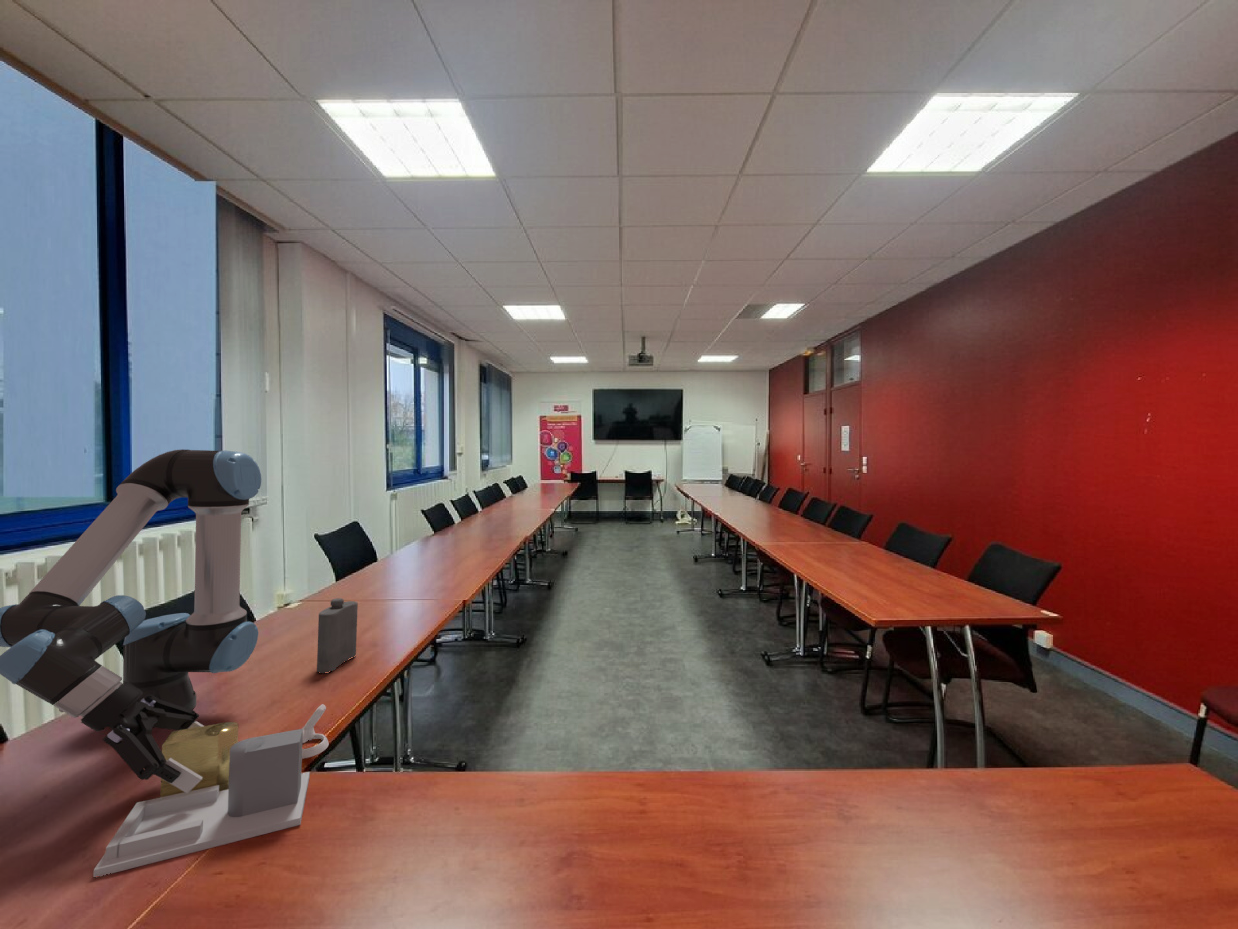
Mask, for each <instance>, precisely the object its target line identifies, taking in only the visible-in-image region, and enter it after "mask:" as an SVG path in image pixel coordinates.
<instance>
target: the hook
mask: <svg viewBox="0 0 1238 929" xmlns="http://www.w3.org/2000/svg"><path fill="white" fill-rule="evenodd" d="M326 710H327V705H325V704H324V703H322V704H320V705H319V706H318V707H317V708H316V710H315V711H314V712H313V713H312V714H311V716H310V718H309V719H308V720H307V722H306V723H305V725H303V727H302V728H301V729H303V741H302V744H304V743H306V742H308V740H309V741H313V740H312V739H321V742H320V743H318V744H316V745H313V746H310V747H307V748H302V760H304V759H309V758H311V757H314V756H317V755H319V754H321V753H322V752H324V751H326V749H327V748H328V747H329V745H330V744H329V739H328V738H327V736H326V735H325V734H323V733H316V732H315V728H314V727H315V726H316V724H317V723H318V721H319V720H320V719H321V717H322V716H323V714H324V713H325V712H326Z"/></svg>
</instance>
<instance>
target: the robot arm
mask: <svg viewBox="0 0 1238 929" xmlns="http://www.w3.org/2000/svg"><path fill="white" fill-rule="evenodd" d="M261 486H262V474H261V470H260V467H259V466H258V463H257V462H256V461H255V460H254V458H253V457H252V456H250V455H249V454H247V453H245V452H241V451H231V450H203V449H201V450H199V449H196V450H195V449H183V448H182V449H174V450H170V451H166V452H164V453H161V454H159V455H156V456H155V457H152V458H151V459H149V460H148V461H146V462H144V463H143V464H141V465H140V466H139V467H137V468H136V469H134V470H133V471H132V472H131V473H130V474H129V475H128V476H127V477H125V479H124V480H122V482H120V484H118V486H117V487H116V489H115V492H116V496H115V497H114V498H113V500H112V501H111V502H109V503H108V505H107V506H106V507H105V508H104V510H102V512H100V514H99V515H98V516H97V517H96V518H95V519H94V521H93V522H92V523H91V524H90V525H89V526H88V527H87V529H86V530H84V532H83V533H82V534H81V535H80V536H79V537H78V538H77V539H76V541H75V542H73V544H72V545H71V546H70V547H69V548H68V549H67V550H66V552H65V553H64V554H63V555H62V556H61V557H60V558H59V559H58V561H57V562H56V563H55V564H54V565H53V566H52V567H51V568H50V570H48V572H47V573H45V575H44V576H43V578H41V580H40V581H38V582H37V584H36V585H35V586H34V587H33V588H32V589H31V591H29V593H28V594H27V595H26V596H25V597H24V598H23V599H22V600H21V602H20V603H18V604H16V603H15V604H11V605H5V606H2V607H0V647H1V648H8V649H7V650H6V651H4V652H2V654H0V675H1V676H2V677H4V678H5V679H6V680H8V681H9V682H10V683H11V684H12V685H17V686H18V687H20V688H22V689H23V690H26V691H27V692H28V693H31V694H33V695H34V696H36V697H38V698H39V699H41V700H43V701H44V702H46V703H49V704H50V705H51V706H54V707H56V708H57V709H58V711H59V712H60V713H65V714H67V715H69V716H70V717H72V718H74V719H76V718H78V717H82V718H81V719H80V721H81V722H80V723H81V724H82V725H85V726H86V727H88V728H90V729H92V730H93V731H95V732H101V731H103V730H104V729H106V728H110V730H111V731H110V732H109V733H108V734H107V735H105V737H103V738H102V741H103V742H104V743H106V744H107V745H108V746H109V747H111V748H113V750H114V751H115V752H116V753H117V754H118V755H119V757H120V758H121V759H122V760H123V761H124V762H125V764H126V765H128V767H129V768H130V769H131V770H132V771H133V773H134V774H135V775H136V776H137V778H138V779H139V780H141V781H143V780H149V779H150V778H151V777H152V776H157V777H158V778H160V779H161V778H162V779H163V780H165V781H167V782H168V783H170V784H172V785H174V786H175V787H177V788H179V789H180V790H182V791H184V792H186V793H188V792H189V791H190V790H191V789H192V788H194V787H195V786H196V785H197V784H198V783H199V782H200V781H201V780H202V778H203V777H202V776H200V775H198V774H197V773H195V772H193V771H192V770H190V769H188V768H187V767H185V766H183V765H182V764H180V763H178V762H177V761H175V760H173V759H172V758H170V759H168V760H167V761H166V759H165V757H164V755H163V754H162V749H161V748H160V747H159V745H158V744H157V742H156V740H155V738H154V736H153V735H152V732H153V731H154V730H153V728H158V729H165V730H173V731H178V730H184V729H190V728H196V727H202V726H204V725H203V724H202V723H201V722H198V721H197V719H198V718H200V715H199V714H198V713H197V712H196V711H195V710H193V709H194V708H195V707H196V706H197V693H196V691H195V690H194V687H193V683H192V681H191V678H190V676H189V673H211V674H218V673H227V672H228V673H230V672H234V671H236V670H237V669H240V668H241V667H242V666H243V665H244V664H245V663H246V662H247V661H248V660H249V658H250V657H251V655H252V654H253V653H254V650H255V648H256V646H257V643H258V640H259V629H258V626H257V625H256V624H255V623H254V622H252V621H248V616H247V615H248V612H247V610H246V609H245V608H243V607H242V606H241V605H240V598H241V597H240V596H241V595H240V594H241V592H240V591H241V590H240V589H241V588H240V586H241V585H240V583H241V547H242V546H241V541H242V540H241V538H242V532H241V531H242V530H241V529H242V512H243V511H244V510H245V509H246V508H247V507H249V506H250V500H251V499H252V498H254V497H255V496H257V495H258V493H259V490H260V489H261ZM180 498H187V507H188V509H190V510H191V511H193V512H194V513H195V546H194V547H195V549H194V550H195V551H194V552H195V554H194V555H195V556H194V557H195V558H194V559H195V560H194V562H195V563H194V606H193V608H194V610H193V612H192V613H191V614H189V613H188V612H180V613H172V614H171V613H170V614H166V615H165V614H164V615H161V616H157V617H156V616H155V617H152V618H147V619H146V615H147V613H146V610H145V607H144V606H143V604H142V602H140V601H139V600H138V599H135V598H134V597H131V596H129V595H123V594H119V595H114V596H111V597H109V598H108V599H106V600H103V601H101V602H100V603H99V604H98V605H94V606H91V605H85V606H84V605H81V604H83V602H84V601H85V599H86V598H87V597H88V596H89V595H90V593H91V592H92V591H93V590H94V588H96V586H97V585H98V583H100V581H101V580H102V579H103V577H104V576H105V575H106V574H107V573H108V572H109V570H110V569H111V568H112V567H113V566H114V564H115V563H116V561H118V559H119V558H120V557H121V555H122V554H123V553H124V551H126V550H127V548H128V547H129V546H130V545H131V543H132V542H133V541H134V540H135V539H136V537H137V536H138V535H139V533H140V532H141V531H142V529H144V527H145V526H146V525H147V524H148V522H149V521H150V520H151V519H152V517H153V516H154V515H155V514H156V513H157V512H158V511H163V510H165V509H166V508H167V507H168V506H169V505H170V503H172V502H173V501H174V500H176V499H180ZM122 640H124V641H123V644H122V645H123V652H122V653H123V654H122V655H123V657H122V658H123V659H122V662H123V667H122V671H123V672H122V676H120V675H119V674H117V673H115V672H113V671H112V670H110V669H108V668H107V667H105V666H104V665H102V664H100V663H99V662H97V661H96V660H97V659H98V658H100V656H102V655H103V654H104V653H106V652H107V651H108V650H110V649H111V648H112V647H114V646H115V645H116V644H118V643H119V642H120V641H122Z"/></svg>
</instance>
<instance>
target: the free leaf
mask: <svg viewBox="0 0 1238 929" xmlns="http://www.w3.org/2000/svg"><path fill="white" fill-rule="evenodd" d="M238 742H239V723H238V722H234V721H228V722H221V723H216V724H209V725H203V726H202V727H196V728H190V729H184V730H173V731H172V732H171V733H170V734H169V735H168V737H167V738H166V740H165V741H164V742H163V744H162V746H161V752H162V754H163V755H164V757H165V759H166V761H167V760H168V759H170V758H172V759H173V760H175V761H177V762H178V763H180V764H182V765H183V766H185V767H187V768H188V769H190V770H192V771H193V772H195V773H197V774H198V775H200V776H202V777H203V778H202V780H201V781H200V782H199V783H198V784H197V785H196V786H195V787H194V788H192V789H191V790H190V791H193V790H198V789H203V788H207V787H212V786H217V785H219V791H223V790H228V789H229V763H230V748H231V747H232V746H233V745H234V744H236V743H238ZM179 793H184V791H182V790H180V789H179V788H177V787H175V786H174V785H172V784H170V783H168V782H167V781H165V780H163V779H162V778H160V797H165V796H170V795H174V794H179ZM160 797H159V798H160Z"/></svg>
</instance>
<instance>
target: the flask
mask: <svg viewBox="0 0 1238 929" xmlns="http://www.w3.org/2000/svg"><path fill="white" fill-rule="evenodd" d="M358 605H359V603H358V602H357V601H351V600H350V601H345V600H344V599H343V598H340V597H339V598H333V599H332V600H331V601H330V606H329V607H327V608H325V609H323V610H321V611H320V612H319V613H318V624H317V625H318V626H317V627H318V629H317V650H316V651H317V655H316V656H317V658H316V659H317V660H316V673H317V672H320V673H325V672H329V671H333V670H334V671H336V670H337V668H336V667H338V666H339V665H340V664H342V663H343V662H344V661H347V660H348V659H349V658H351V657H354V656H355V655H356V656H357V633H358V607H359V606H358ZM354 658H355V657H354ZM347 662H348V661H347ZM343 664H344V663H343ZM343 664H342V665H343ZM340 666H341V665H340ZM340 666H339V667H340ZM339 667H338V668H339ZM334 671H333V672H334Z"/></svg>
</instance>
